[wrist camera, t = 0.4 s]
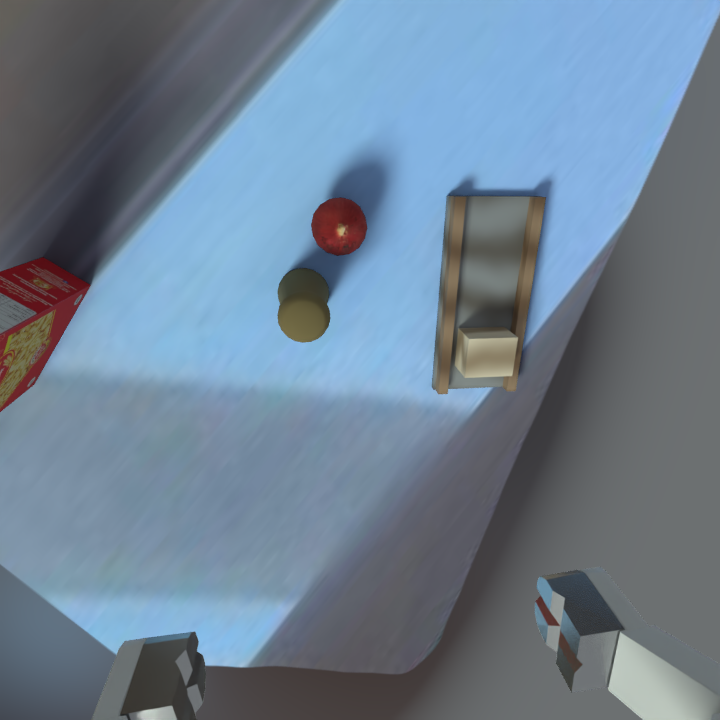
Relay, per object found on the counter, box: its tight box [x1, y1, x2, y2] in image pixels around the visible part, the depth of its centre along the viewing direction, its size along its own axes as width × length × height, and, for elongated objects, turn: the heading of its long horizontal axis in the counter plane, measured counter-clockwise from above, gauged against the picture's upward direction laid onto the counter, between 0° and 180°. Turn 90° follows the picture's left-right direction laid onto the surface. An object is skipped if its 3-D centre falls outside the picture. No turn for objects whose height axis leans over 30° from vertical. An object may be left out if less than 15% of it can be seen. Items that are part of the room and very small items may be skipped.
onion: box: [311, 197, 367, 256], centre depth 48 cm, size 6×6×8 cm
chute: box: [432, 196, 546, 394], centre depth 56 cm, size 24×11×2 cm, turn 179°
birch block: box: [455, 327, 518, 378], centre depth 57 cm, size 5×6×4 cm
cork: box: [278, 268, 330, 342], centre depth 49 cm, size 6×6×11 cm
